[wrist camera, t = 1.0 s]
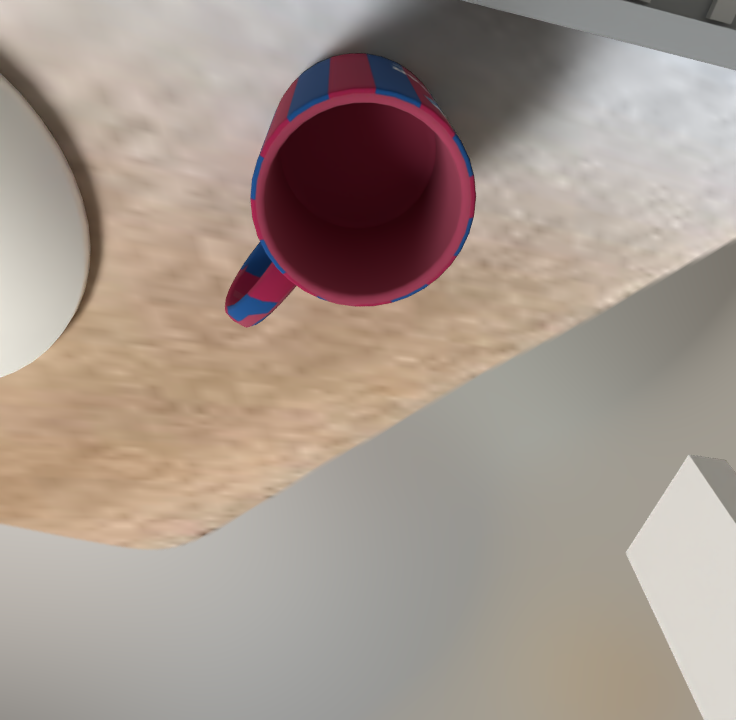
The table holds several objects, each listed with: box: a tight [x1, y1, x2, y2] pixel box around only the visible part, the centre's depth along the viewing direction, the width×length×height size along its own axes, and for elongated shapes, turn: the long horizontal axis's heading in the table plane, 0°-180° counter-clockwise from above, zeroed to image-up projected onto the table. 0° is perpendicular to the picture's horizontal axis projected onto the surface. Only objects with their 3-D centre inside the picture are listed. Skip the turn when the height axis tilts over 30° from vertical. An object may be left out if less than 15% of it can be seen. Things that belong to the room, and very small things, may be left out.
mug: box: [225, 53, 476, 328], centre depth 22 cm, size 7×10×7 cm
